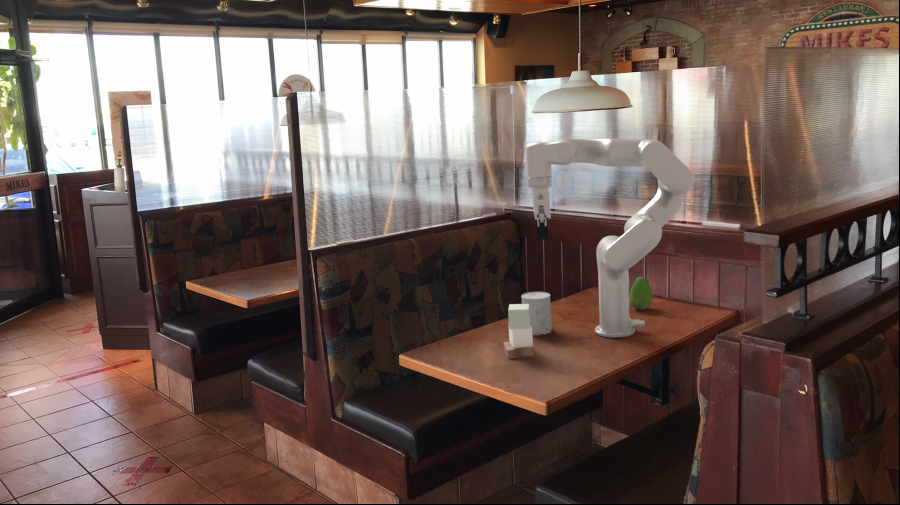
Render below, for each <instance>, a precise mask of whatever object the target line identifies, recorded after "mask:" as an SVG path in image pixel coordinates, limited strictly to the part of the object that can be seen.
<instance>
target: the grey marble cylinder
mask: <svg viewBox="0 0 900 505" xmlns="http://www.w3.org/2000/svg"><path fill="white" fill-rule="evenodd" d="M520 297H521V304H529V314H530V325H531V327H532V336H540V335H539V334H544V335H548V334H550V333H551V332H552V331H551V330H552V313H551V312H552V310H551V309H552V308H551V294H550V293H549V292H545V291H528V292H524V293H523V294H521V296H520ZM550 331H551V332H550ZM549 332H550V333H549ZM547 333H548V334H547Z"/></svg>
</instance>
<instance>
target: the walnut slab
mask: <svg viewBox="0 0 900 505" xmlns="http://www.w3.org/2000/svg"><path fill="white" fill-rule="evenodd" d="M533 346H534V345H533ZM533 346H531V347H522V348H513V347H512V345H511V344H510V342H509V341H503V352H504V354H505V355H506V358H507V359H519V358H527V357H528V358H529V357H534V356H535V352H534V349H535V348H534V347H533Z"/></svg>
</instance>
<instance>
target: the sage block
mask: <svg viewBox="0 0 900 505" xmlns="http://www.w3.org/2000/svg"><path fill="white" fill-rule="evenodd" d="M507 312H508V314H507V316H508V330H509V329H529V326H530V314H529V304H522V303H515V304H514V303H513V304H512V303H511V304H510V303H509V305H508V310H507Z"/></svg>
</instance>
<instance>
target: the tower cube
mask: <svg viewBox="0 0 900 505" xmlns="http://www.w3.org/2000/svg"><path fill="white" fill-rule="evenodd" d="M508 336H509V337H508V339H509V341H508V342H510V344H511V345H512V347H513V348H522V347H531V346H534V344H533V343H534V342H533V340H534V339H533V337H534V336H533V335H532V327H531V325H530V326H529V329H509V328H508Z"/></svg>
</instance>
